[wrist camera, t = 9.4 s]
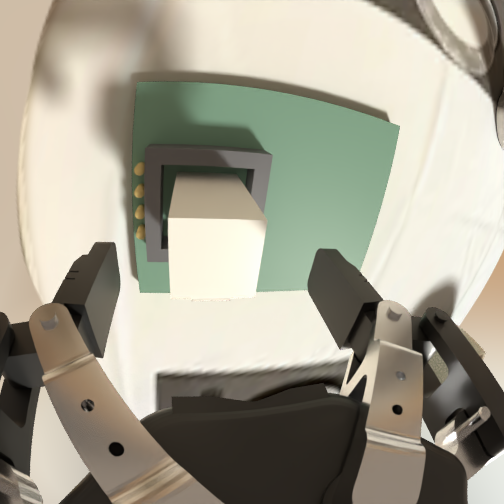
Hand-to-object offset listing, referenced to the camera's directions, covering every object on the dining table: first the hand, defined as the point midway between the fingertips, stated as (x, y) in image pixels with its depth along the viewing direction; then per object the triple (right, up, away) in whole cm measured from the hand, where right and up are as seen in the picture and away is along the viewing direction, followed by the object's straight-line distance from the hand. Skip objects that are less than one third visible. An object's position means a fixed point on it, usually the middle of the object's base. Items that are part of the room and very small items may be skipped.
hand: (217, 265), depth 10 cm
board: (+3, +5, +10) cm, 11 cm away
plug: (-2, +4, +8) cm, 9 cm away
